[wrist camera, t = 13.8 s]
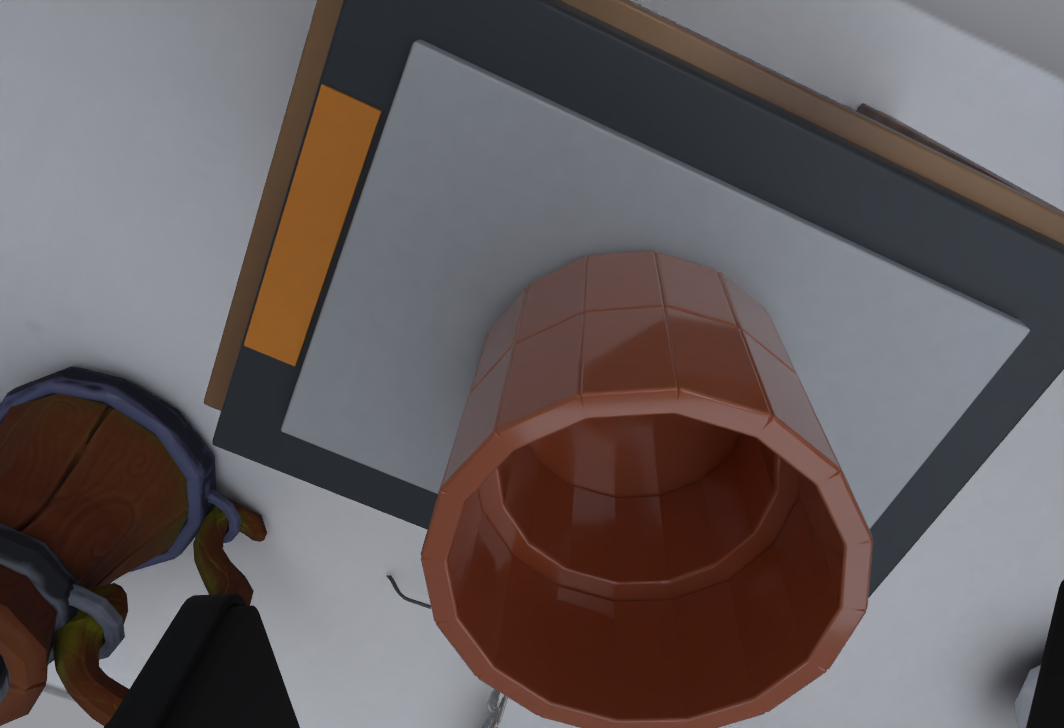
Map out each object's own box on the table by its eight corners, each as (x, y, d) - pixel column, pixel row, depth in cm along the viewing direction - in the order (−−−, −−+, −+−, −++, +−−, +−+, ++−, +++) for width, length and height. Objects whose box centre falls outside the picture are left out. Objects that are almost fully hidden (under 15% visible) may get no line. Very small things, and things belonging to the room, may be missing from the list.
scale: (243, 404, 21) (200, 457, 19) (393, -81, 16) (359, -87, 14) (786, 622, 23) (806, 694, 21) (1082, 253, 18) (1152, 295, 15)
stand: (363, 224, 35) (201, 404, 21) (473, -89, 30) (353, -133, 15) (729, 384, 37) (807, 646, 23) (897, 120, 32) (1137, 252, 18)
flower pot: (458, 257, 16) (386, 405, 11) (790, 229, 15) (889, 374, 10) (499, 518, 19) (459, 739, 14) (781, 505, 18) (856, 734, 13)
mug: (369, 467, 41) (257, 712, 28) (304, 619, 46) (182, 888, 33) (19, 323, 39) (-286, 514, 26) (-10, 499, 44) (-277, 735, 31)
